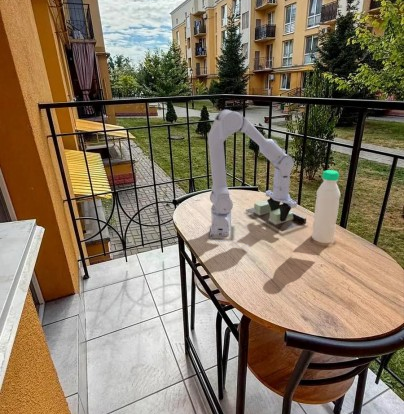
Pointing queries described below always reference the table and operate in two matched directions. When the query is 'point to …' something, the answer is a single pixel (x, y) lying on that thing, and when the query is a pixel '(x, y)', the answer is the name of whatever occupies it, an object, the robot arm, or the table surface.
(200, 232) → the table surface
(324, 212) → the water bottle
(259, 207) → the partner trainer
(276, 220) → the pale green block
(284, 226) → the dark grey tray
